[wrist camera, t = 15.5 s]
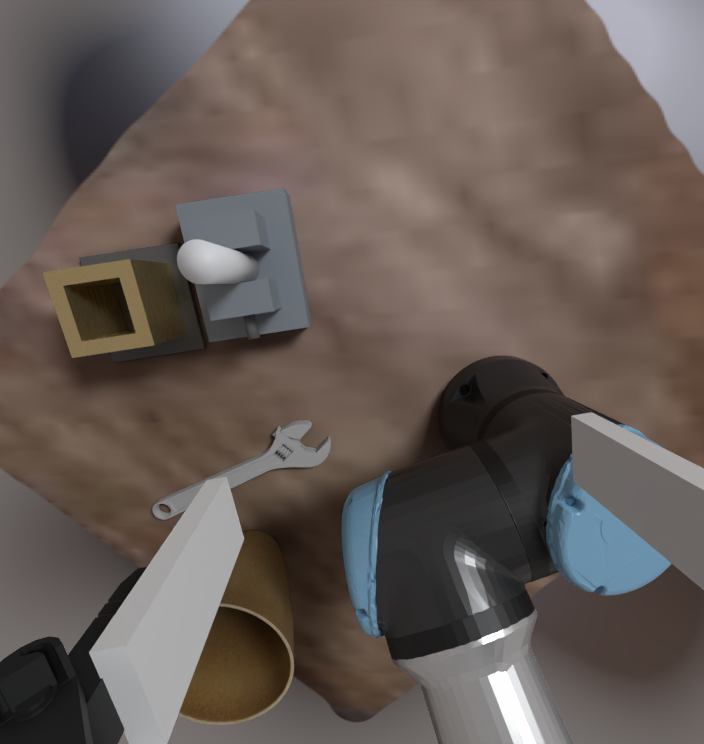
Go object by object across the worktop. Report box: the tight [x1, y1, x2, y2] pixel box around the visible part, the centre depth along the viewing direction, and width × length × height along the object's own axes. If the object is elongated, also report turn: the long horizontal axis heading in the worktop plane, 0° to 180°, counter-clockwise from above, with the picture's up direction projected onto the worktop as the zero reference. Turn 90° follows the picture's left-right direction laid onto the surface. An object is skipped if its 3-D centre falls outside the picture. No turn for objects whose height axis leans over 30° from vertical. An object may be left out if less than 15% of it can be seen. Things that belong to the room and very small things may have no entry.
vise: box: [175, 188, 312, 342], centre depth 34 cm, size 14×11×17 cm
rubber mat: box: [79, 243, 206, 363], centre depth 42 cm, size 12×11×1 cm
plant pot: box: [178, 530, 294, 725], centre depth 43 cm, size 15×15×16 cm
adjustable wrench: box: [153, 420, 331, 520], centre depth 47 cm, size 25×6×2 cm, turn 111°
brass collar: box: [43, 259, 188, 358], centre depth 38 cm, size 8×8×8 cm
